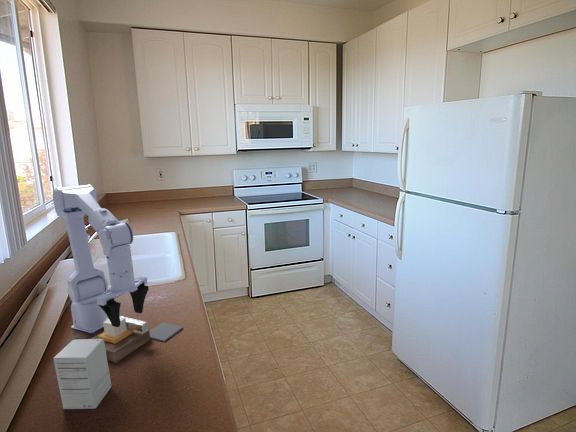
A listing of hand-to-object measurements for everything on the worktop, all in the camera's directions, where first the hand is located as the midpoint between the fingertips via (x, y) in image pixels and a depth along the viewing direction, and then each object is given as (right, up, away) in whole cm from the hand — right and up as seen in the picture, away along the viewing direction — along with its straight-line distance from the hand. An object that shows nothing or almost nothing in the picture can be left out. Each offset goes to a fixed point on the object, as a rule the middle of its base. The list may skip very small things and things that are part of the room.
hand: (127, 319), depth 96 cm
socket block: (-5, -9, +6) cm, 13 cm away
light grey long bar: (-3, -6, +8) cm, 11 cm away
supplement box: (-3, -14, -14) cm, 20 cm away
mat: (+5, -8, +13) cm, 16 cm away
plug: (-5, -9, +6) cm, 13 cm away
